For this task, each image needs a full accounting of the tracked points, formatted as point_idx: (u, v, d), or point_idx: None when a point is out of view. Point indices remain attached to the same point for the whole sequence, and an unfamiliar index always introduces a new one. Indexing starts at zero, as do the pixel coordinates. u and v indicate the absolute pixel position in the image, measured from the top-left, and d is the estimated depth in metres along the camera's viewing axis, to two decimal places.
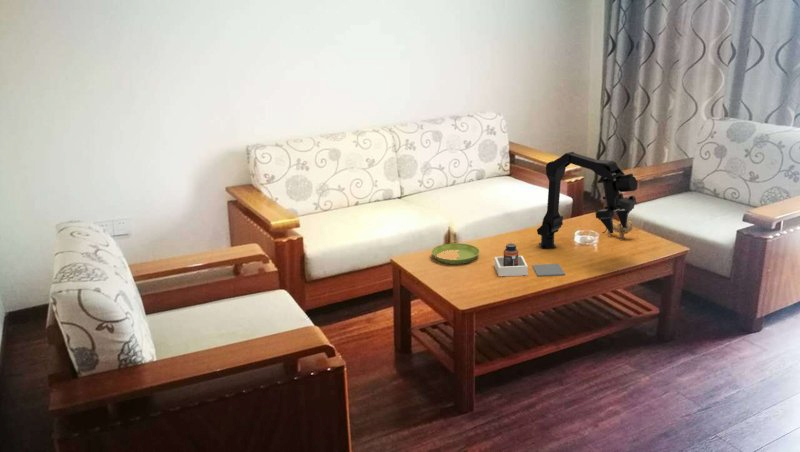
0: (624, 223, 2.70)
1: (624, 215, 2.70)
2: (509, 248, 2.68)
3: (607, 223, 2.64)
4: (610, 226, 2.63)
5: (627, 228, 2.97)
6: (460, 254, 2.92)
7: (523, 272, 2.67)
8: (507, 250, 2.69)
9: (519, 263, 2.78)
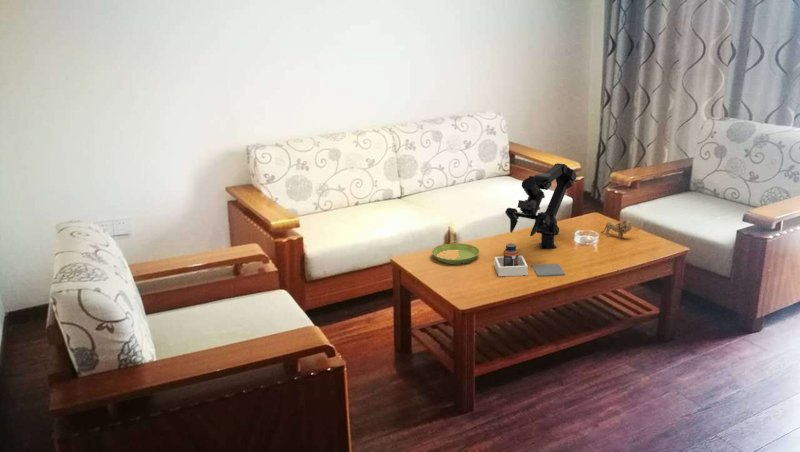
0: None
1: None
2: (509, 248, 2.68)
3: None
4: None
5: (626, 228, 2.98)
6: (460, 254, 2.92)
7: (523, 272, 2.67)
8: (507, 250, 2.69)
9: (519, 263, 2.78)
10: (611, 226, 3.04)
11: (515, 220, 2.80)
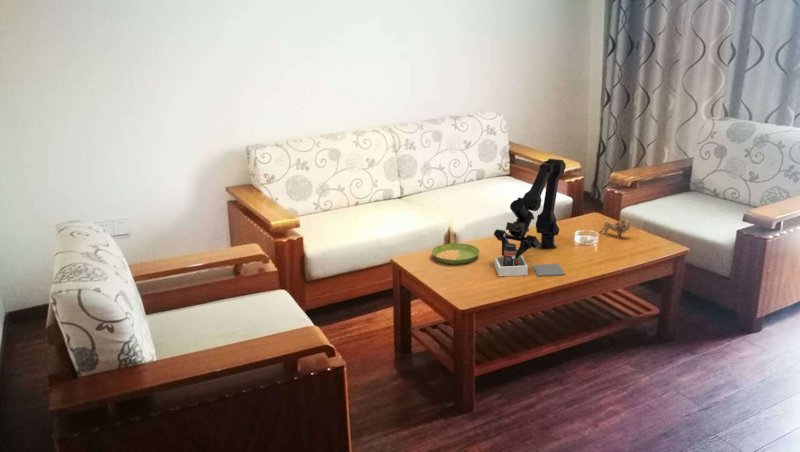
0: None
1: None
2: (509, 247, 2.68)
3: None
4: None
5: (625, 227, 2.99)
6: (460, 254, 2.92)
7: (523, 272, 2.67)
8: (507, 250, 2.69)
9: (519, 263, 2.78)
10: (610, 226, 3.05)
11: (507, 243, 2.74)
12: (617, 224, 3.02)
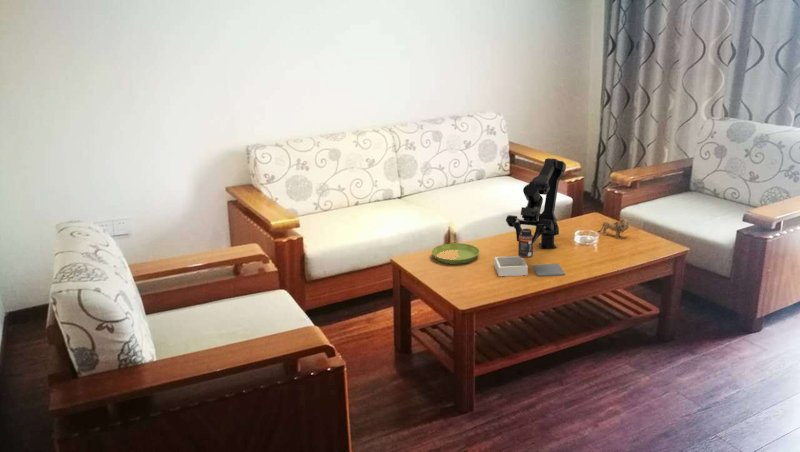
0: None
1: None
2: (525, 233, 2.65)
3: None
4: (516, 233, 2.69)
5: (624, 227, 2.99)
6: (460, 254, 2.92)
7: (523, 272, 2.67)
8: (523, 235, 2.65)
9: (519, 263, 2.78)
10: (608, 225, 3.05)
11: (520, 228, 2.71)
12: (616, 224, 3.02)
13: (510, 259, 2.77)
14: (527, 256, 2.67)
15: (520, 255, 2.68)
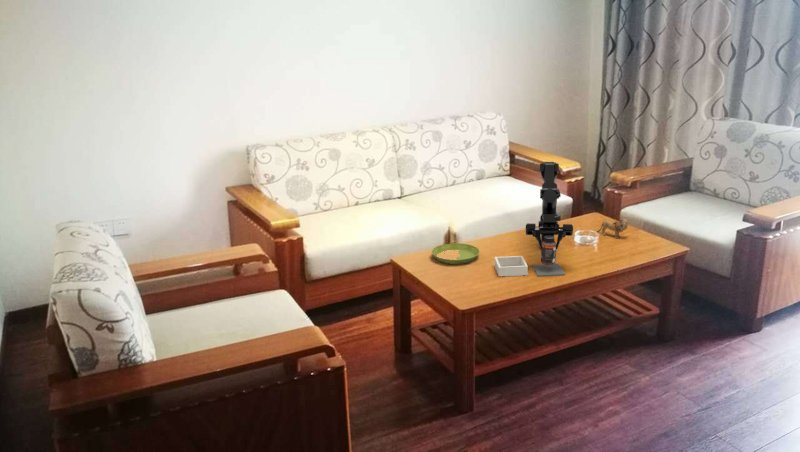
0: None
1: None
2: (550, 240, 2.65)
3: (538, 239, 2.70)
4: (538, 240, 2.69)
5: (623, 226, 3.00)
6: (460, 254, 2.92)
7: (523, 272, 2.67)
8: (548, 242, 2.66)
9: (519, 263, 2.78)
10: (607, 225, 3.06)
11: None
12: (615, 223, 3.03)
13: (510, 259, 2.77)
14: (552, 262, 2.68)
15: (544, 262, 2.68)
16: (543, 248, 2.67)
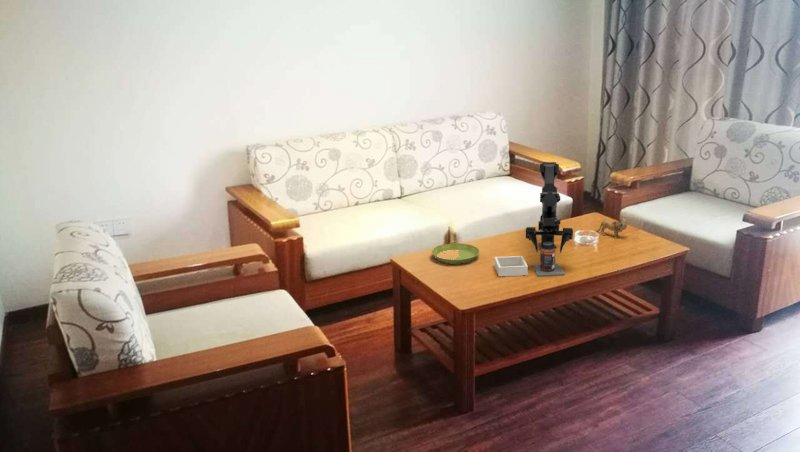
0: (560, 248, 2.67)
1: (561, 240, 2.68)
2: (549, 246, 2.66)
3: (534, 242, 2.71)
4: (534, 244, 2.69)
5: (622, 226, 3.00)
6: (460, 254, 2.92)
7: (523, 272, 2.67)
8: (546, 248, 2.67)
9: (519, 263, 2.78)
10: (606, 225, 3.06)
11: None
12: (614, 223, 3.03)
13: (510, 259, 2.77)
14: (551, 269, 2.68)
15: (544, 268, 2.69)
16: (542, 254, 2.68)
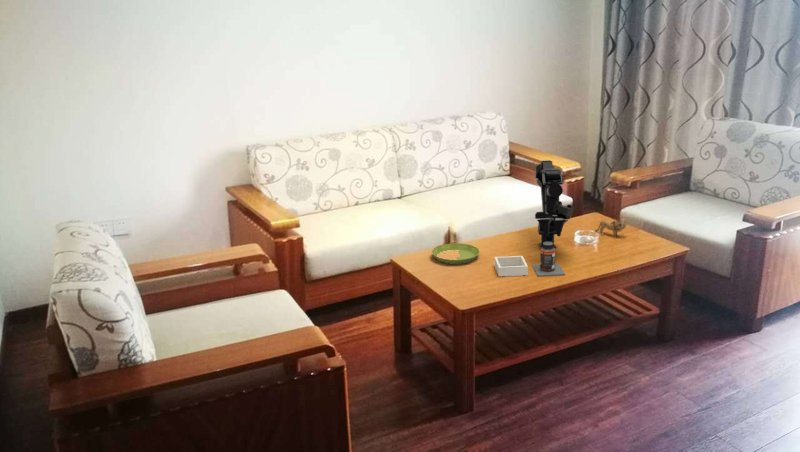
0: (558, 232, 2.82)
1: (560, 224, 2.82)
2: (549, 246, 2.66)
3: (544, 225, 2.75)
4: (547, 228, 2.74)
5: (621, 226, 3.01)
6: (460, 254, 2.92)
7: (523, 272, 2.67)
8: (547, 248, 2.67)
9: (519, 263, 2.78)
10: (605, 225, 3.06)
11: None
12: (613, 223, 3.03)
13: (510, 259, 2.77)
14: (551, 269, 2.68)
15: (544, 268, 2.69)
16: (542, 254, 2.68)
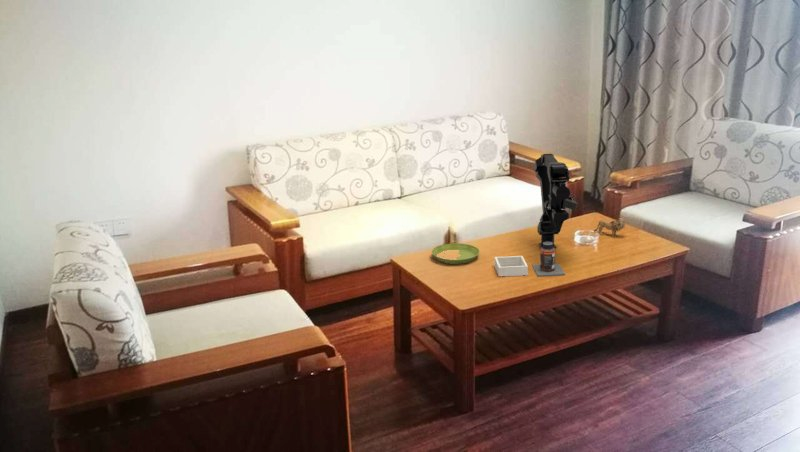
0: (553, 221, 2.84)
1: None
2: (548, 246, 2.66)
3: (558, 223, 2.74)
4: (560, 226, 2.74)
5: (620, 226, 3.01)
6: (460, 254, 2.92)
7: (523, 272, 2.67)
8: (546, 248, 2.67)
9: (519, 263, 2.78)
10: (604, 224, 3.07)
11: None
12: (612, 223, 3.04)
13: (510, 259, 2.77)
14: (551, 269, 2.68)
15: (544, 268, 2.69)
16: (542, 254, 2.68)
